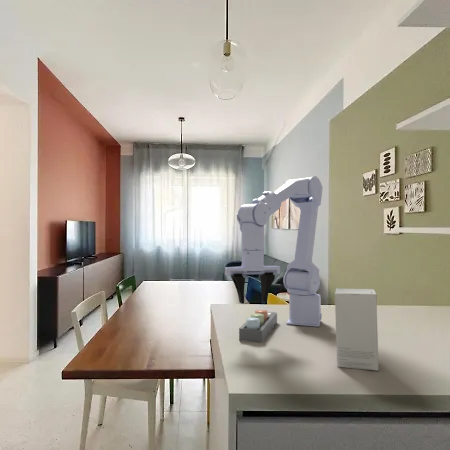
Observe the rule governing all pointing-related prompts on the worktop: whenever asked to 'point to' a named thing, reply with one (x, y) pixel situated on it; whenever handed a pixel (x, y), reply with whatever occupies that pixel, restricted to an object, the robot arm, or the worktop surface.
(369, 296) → the skincare box
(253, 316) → the sage button
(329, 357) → the worktop surface
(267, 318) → the terracotta button
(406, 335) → the worktop surface
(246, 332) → the console
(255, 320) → the blue button
